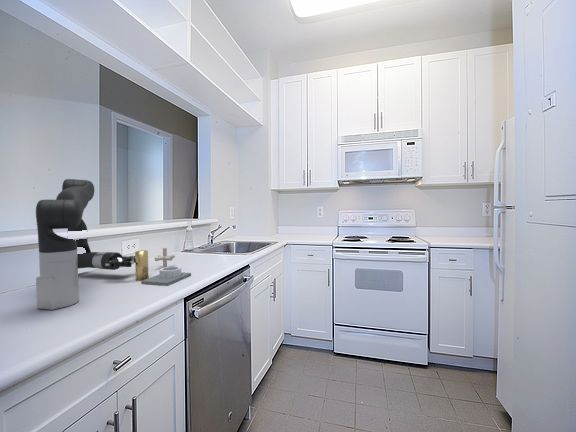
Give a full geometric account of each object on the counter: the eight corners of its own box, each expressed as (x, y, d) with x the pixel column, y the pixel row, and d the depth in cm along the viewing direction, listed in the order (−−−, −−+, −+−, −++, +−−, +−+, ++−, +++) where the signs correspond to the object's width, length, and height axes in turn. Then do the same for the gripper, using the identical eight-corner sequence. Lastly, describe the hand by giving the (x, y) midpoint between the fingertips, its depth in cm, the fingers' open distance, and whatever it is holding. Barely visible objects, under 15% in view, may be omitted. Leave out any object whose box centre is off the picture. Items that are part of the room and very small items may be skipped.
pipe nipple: (142, 281, 112) (142, 252, 112) (133, 280, 113) (132, 252, 113) (151, 278, 117) (150, 250, 116) (141, 277, 118) (141, 250, 117)
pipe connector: (179, 266, 138) (179, 247, 138) (161, 270, 130) (161, 250, 129) (168, 264, 143) (167, 246, 143) (149, 268, 135) (149, 248, 135)
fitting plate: (167, 285, 105) (167, 275, 105) (141, 283, 108) (141, 273, 108) (191, 275, 121) (190, 266, 121) (167, 274, 124) (167, 265, 123)
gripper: (92, 255, 112) (125, 256, 108) (120, 249, 126) (150, 250, 122) (92, 272, 112) (125, 275, 108) (121, 265, 126) (151, 267, 122)
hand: (138, 262), depth 115 cm, fingers open, 8 cm apart
